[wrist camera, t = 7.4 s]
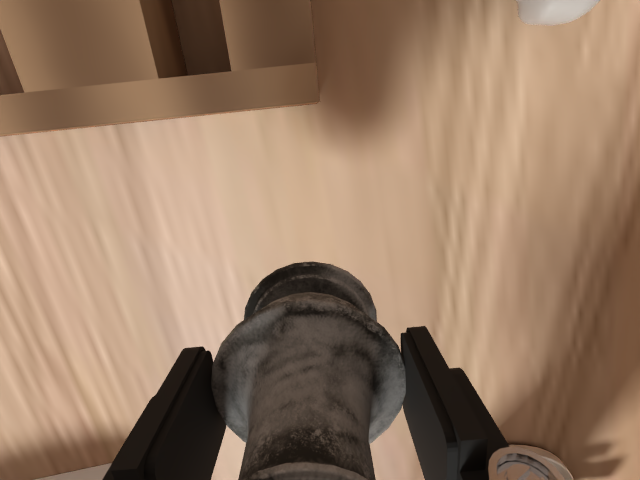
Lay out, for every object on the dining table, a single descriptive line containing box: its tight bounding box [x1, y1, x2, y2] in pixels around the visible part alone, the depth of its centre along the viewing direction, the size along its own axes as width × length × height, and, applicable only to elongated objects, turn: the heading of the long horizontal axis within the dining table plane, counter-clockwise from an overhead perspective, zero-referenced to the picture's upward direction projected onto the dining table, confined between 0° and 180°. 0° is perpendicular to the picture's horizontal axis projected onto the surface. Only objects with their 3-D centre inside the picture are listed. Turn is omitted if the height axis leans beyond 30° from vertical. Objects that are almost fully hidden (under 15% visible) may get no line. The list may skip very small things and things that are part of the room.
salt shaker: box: [211, 262, 406, 480], centre depth 8 cm, size 6×6×12 cm
